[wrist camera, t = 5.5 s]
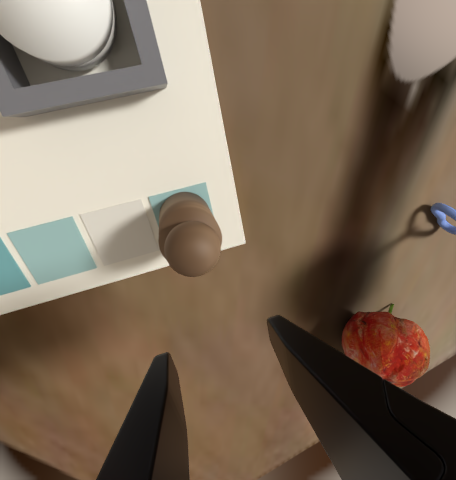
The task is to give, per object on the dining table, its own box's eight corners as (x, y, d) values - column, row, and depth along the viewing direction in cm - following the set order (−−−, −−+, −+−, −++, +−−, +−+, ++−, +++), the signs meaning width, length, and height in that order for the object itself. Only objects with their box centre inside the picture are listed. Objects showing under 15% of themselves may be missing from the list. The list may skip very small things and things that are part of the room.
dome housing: (115, -105, 13) (107, -151, 11) (166, 87, 16) (167, 83, 14) (-74, -85, 12) (-126, -132, 9) (24, 117, 15) (2, 116, 13)
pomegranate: (357, 273, 30) (323, 350, 24) (442, 291, 25) (425, 390, 19) (359, 316, 34) (331, 390, 28) (432, 338, 29) (416, 432, 24)
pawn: (204, 186, 19) (225, 219, 13) (214, 233, 20) (236, 282, 14) (152, 198, 18) (148, 237, 12) (166, 245, 20) (169, 300, 14)
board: (180, -91, 14) (181, -99, 13) (243, 240, 22) (245, 243, 22) (-329, -30, 11) (-354, -37, 10) (-37, 322, 19) (-42, 328, 19)
